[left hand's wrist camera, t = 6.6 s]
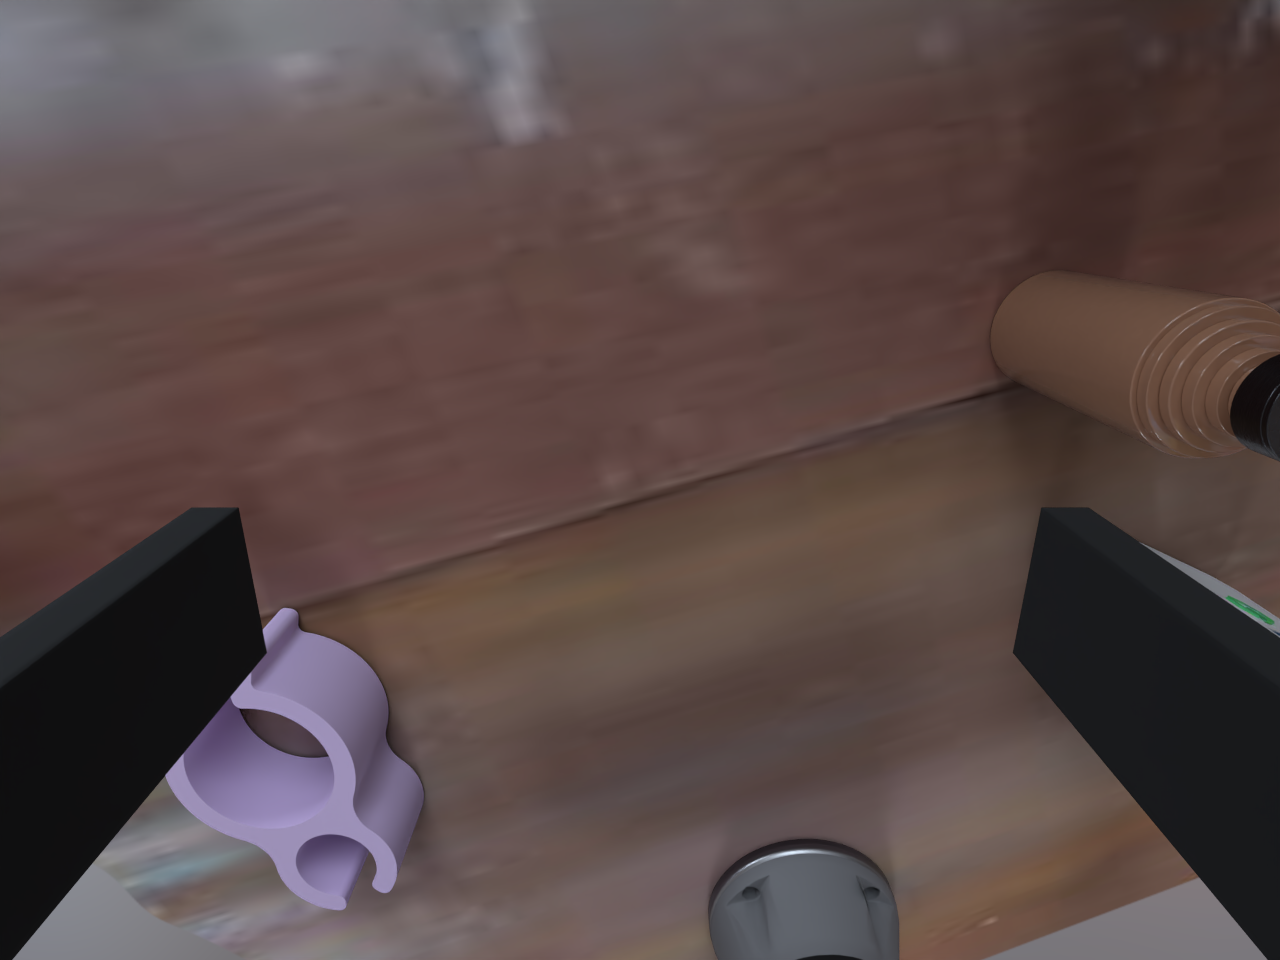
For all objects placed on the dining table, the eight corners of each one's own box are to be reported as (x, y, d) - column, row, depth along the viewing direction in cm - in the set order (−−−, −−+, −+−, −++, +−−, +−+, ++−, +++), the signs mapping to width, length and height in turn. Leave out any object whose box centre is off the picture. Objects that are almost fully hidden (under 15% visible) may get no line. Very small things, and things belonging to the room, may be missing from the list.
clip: (463, 797, 59) (441, 871, 52) (328, 851, 61) (291, 929, 54) (317, 592, 53) (272, 646, 46) (173, 658, 55) (109, 720, 48)
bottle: (988, 394, 48) (1206, 513, 30) (990, 279, 46) (1229, 330, 27) (1103, 378, 48) (1397, 489, 29) (1112, 261, 45) (1438, 301, 27)
